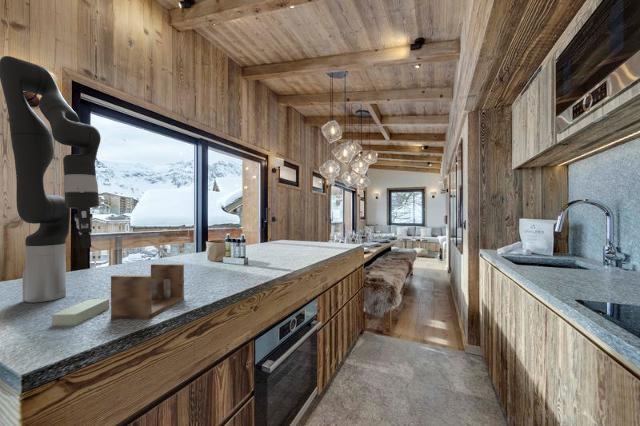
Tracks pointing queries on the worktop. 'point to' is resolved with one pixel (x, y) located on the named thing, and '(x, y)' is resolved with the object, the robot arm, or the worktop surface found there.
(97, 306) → the shelf board
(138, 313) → the peg cradle
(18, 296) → the worktop surface
